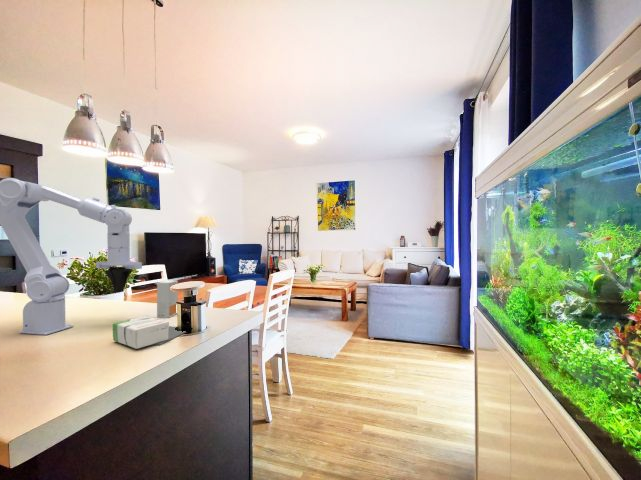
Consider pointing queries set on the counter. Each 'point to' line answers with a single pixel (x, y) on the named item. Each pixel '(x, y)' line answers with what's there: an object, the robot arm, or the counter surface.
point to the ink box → (140, 331)
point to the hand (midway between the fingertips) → (119, 291)
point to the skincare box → (166, 299)
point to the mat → (171, 335)
